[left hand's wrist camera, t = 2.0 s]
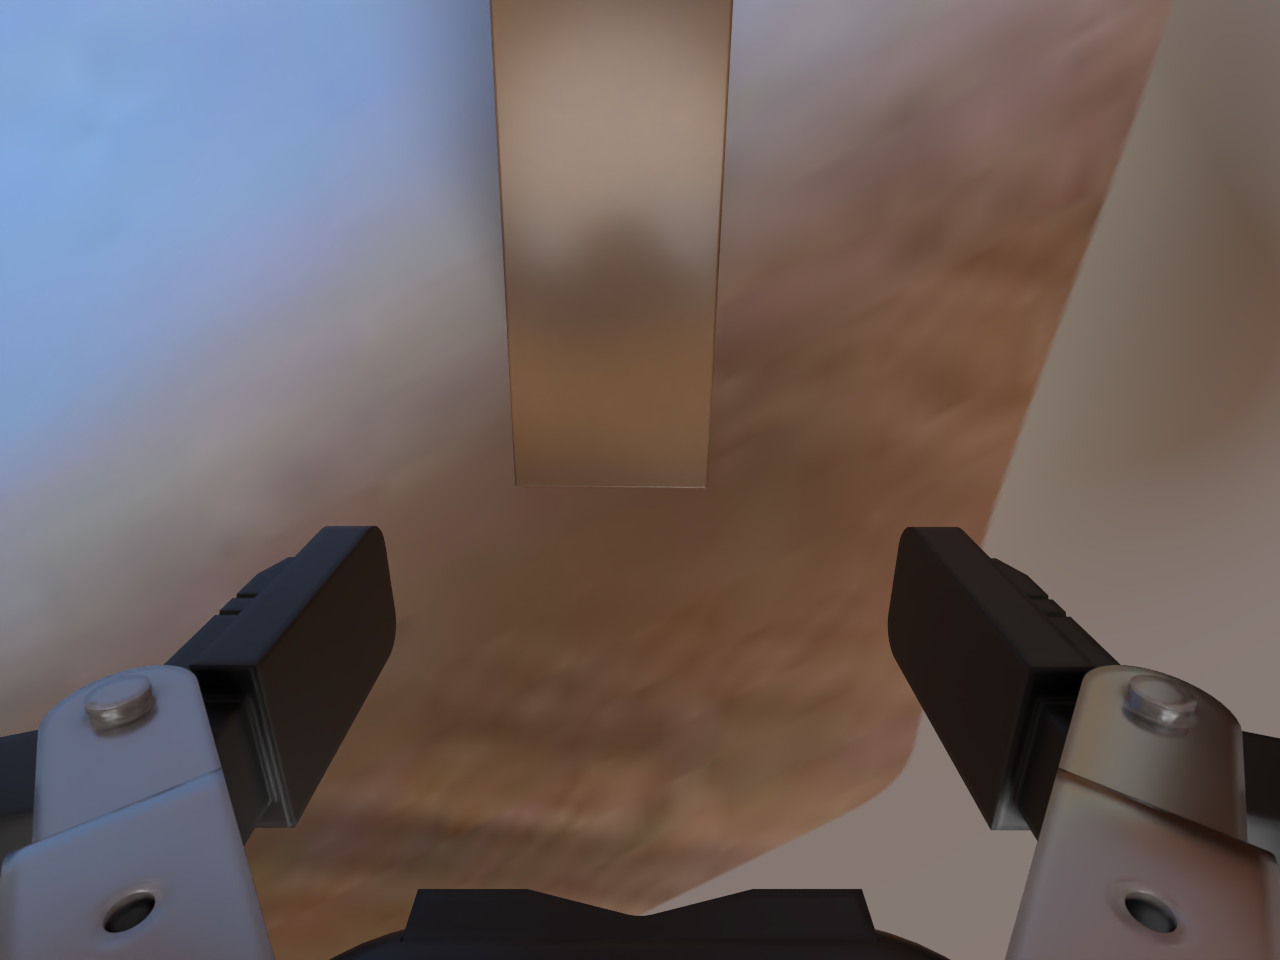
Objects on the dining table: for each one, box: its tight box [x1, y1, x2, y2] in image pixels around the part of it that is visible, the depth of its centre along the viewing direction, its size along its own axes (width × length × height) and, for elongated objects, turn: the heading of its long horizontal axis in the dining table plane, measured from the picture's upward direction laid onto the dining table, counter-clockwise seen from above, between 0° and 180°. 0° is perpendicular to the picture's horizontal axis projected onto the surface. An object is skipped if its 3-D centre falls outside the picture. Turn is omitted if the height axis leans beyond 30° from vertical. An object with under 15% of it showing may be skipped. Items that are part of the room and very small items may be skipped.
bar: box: [490, 0, 733, 488], centre depth 19 cm, size 24×5×8 cm, turn 179°
